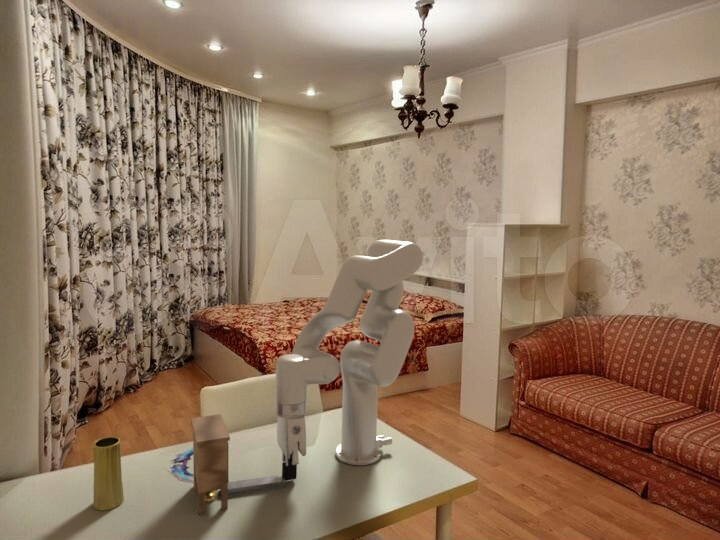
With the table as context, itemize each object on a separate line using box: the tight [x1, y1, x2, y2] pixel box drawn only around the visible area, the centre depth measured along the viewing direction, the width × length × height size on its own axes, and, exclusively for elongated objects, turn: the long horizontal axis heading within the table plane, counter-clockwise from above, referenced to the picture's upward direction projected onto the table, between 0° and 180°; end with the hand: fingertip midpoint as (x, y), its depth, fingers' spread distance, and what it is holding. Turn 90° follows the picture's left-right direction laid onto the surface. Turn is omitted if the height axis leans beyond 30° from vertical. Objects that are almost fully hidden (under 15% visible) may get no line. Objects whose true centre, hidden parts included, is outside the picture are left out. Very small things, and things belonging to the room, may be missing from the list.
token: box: [205, 490, 218, 504], centre depth 111 cm, size 4×4×1 cm
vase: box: [92, 436, 125, 511], centre depth 107 cm, size 6×6×14 cm
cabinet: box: [190, 413, 231, 516], centre depth 110 cm, size 7×13×17 cm, turn 24°
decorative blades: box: [170, 447, 194, 484], centre depth 126 cm, size 20×1×10 cm
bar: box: [228, 474, 285, 497], centre depth 115 cm, size 14×3×2 cm, turn 108°
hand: (289, 478), depth 118 cm, fingers closed
